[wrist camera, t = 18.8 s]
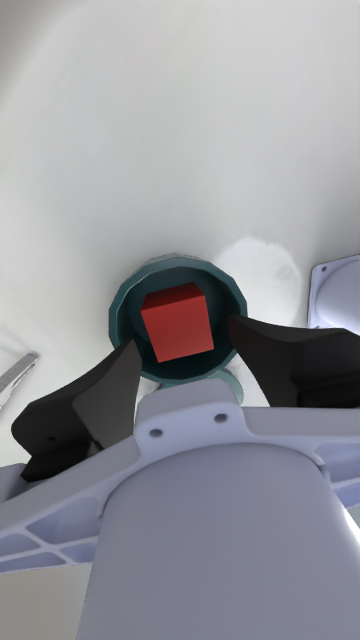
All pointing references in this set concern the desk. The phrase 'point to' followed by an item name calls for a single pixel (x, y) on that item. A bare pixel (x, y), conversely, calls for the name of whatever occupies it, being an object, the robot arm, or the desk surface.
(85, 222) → the desk surface
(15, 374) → the caliper
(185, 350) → the red block
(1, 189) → the desk surface
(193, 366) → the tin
